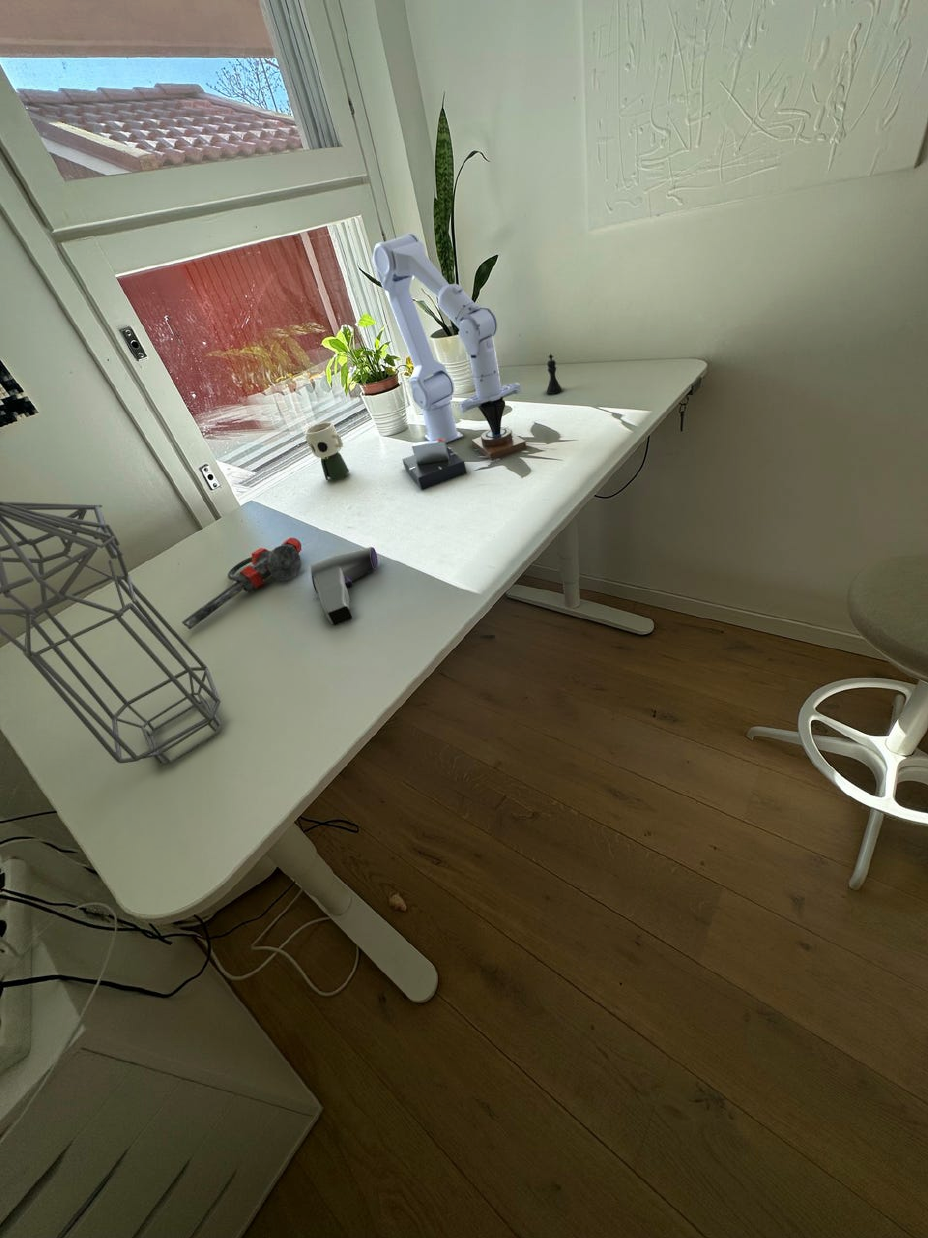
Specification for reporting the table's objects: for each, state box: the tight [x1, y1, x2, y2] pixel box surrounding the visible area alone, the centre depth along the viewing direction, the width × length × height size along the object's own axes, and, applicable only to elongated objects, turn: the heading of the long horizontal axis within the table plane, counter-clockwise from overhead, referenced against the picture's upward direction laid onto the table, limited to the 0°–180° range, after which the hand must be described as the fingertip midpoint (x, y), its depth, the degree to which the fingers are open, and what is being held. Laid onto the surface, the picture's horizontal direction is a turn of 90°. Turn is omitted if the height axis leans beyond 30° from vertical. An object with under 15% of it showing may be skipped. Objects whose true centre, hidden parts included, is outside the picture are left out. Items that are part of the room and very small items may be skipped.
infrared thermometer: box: [310, 546, 379, 626], centre depth 88 cm, size 5×12×15 cm
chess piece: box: [546, 354, 563, 395], centre depth 145 cm, size 4×4×10 cm
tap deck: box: [402, 446, 468, 491], centre depth 121 cm, size 14×12×3 cm
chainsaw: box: [181, 537, 303, 630], centre depth 98 cm, size 6×26×15 cm
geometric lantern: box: [0, 501, 223, 767], centre depth 61 cm, size 16×16×35 cm
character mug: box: [304, 421, 350, 482], centre depth 129 cm, size 11×7×13 cm, turn 64°
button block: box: [471, 426, 527, 462], centre depth 124 cm, size 12×9×4 cm
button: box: [487, 429, 506, 438], centre depth 124 cm, size 4×4×2 cm
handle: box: [411, 438, 449, 465], centre depth 118 cm, size 8×2×5 cm, turn 81°
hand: (496, 432), depth 123 cm, fingers closed, pressing on button
